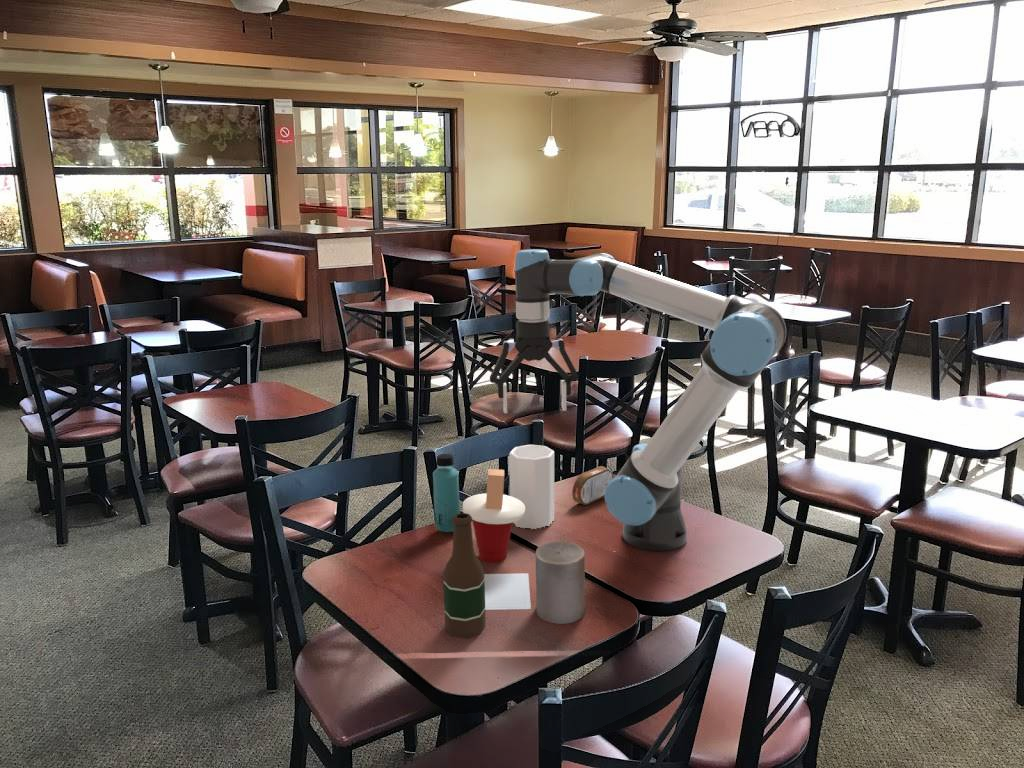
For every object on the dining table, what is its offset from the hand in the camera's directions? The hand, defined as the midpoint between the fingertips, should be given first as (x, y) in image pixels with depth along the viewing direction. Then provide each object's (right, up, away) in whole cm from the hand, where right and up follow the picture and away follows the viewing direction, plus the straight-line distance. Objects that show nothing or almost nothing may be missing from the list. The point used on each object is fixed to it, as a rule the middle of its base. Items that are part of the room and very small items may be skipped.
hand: (534, 410), depth 189 cm
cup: (0, -29, +18) cm, 34 cm away
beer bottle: (-14, -42, -31) cm, 54 cm away
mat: (-9, -38, -18) cm, 43 cm away
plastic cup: (-9, -34, -2) cm, 35 cm away
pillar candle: (+4, -40, -26) cm, 48 cm away
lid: (-9, -22, -5) cm, 25 cm away
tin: (+17, -25, +31) cm, 43 cm away
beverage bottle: (-21, -31, +12) cm, 39 cm away
